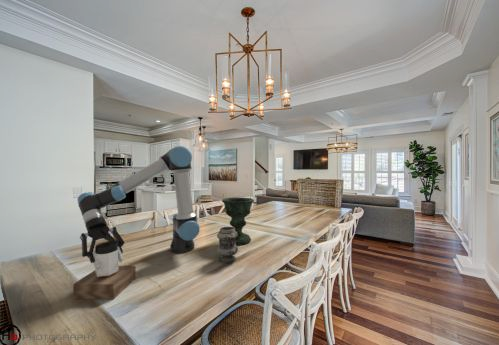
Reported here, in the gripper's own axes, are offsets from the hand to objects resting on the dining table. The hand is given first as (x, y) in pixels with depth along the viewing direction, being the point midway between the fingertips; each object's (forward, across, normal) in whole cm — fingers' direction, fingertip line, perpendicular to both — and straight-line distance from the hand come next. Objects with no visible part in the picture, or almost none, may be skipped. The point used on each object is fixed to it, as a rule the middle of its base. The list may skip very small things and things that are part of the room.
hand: (110, 264), depth 91 cm
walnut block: (+6, 0, -10) cm, 12 cm away
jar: (+1, 0, -6) cm, 6 cm away
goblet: (+12, -80, -4) cm, 81 cm away
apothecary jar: (+22, -53, +6) cm, 57 cm away
